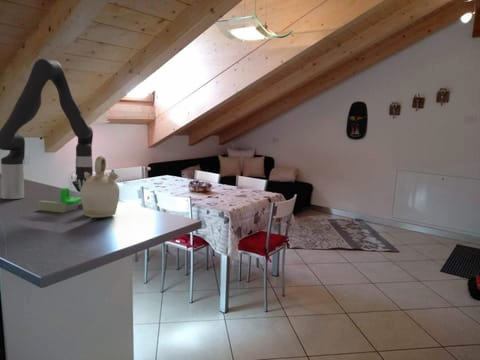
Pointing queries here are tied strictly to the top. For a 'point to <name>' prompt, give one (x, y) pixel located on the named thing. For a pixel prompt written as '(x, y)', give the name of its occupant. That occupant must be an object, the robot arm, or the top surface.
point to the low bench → (56, 206)
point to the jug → (100, 192)
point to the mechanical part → (68, 197)
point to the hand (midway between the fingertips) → (84, 200)
